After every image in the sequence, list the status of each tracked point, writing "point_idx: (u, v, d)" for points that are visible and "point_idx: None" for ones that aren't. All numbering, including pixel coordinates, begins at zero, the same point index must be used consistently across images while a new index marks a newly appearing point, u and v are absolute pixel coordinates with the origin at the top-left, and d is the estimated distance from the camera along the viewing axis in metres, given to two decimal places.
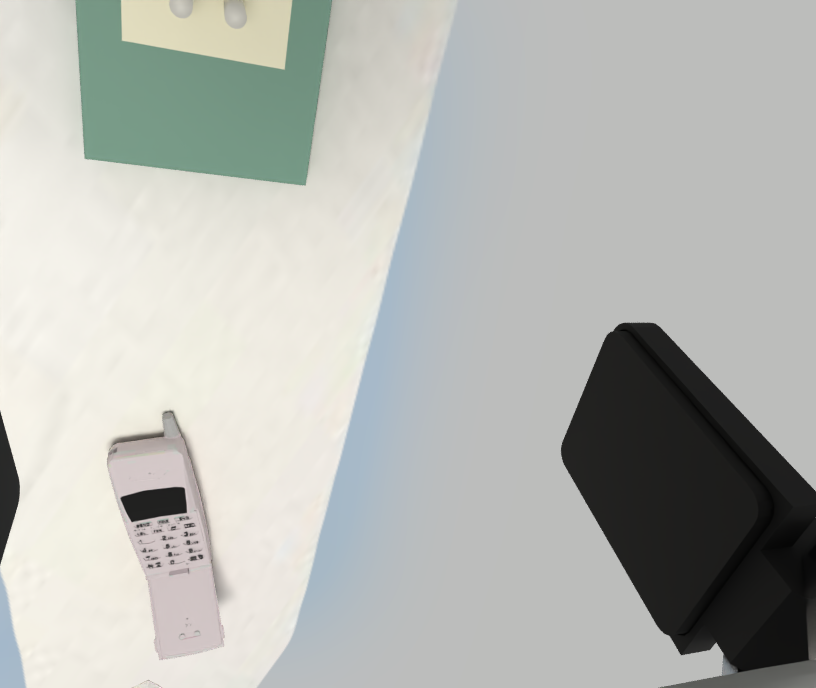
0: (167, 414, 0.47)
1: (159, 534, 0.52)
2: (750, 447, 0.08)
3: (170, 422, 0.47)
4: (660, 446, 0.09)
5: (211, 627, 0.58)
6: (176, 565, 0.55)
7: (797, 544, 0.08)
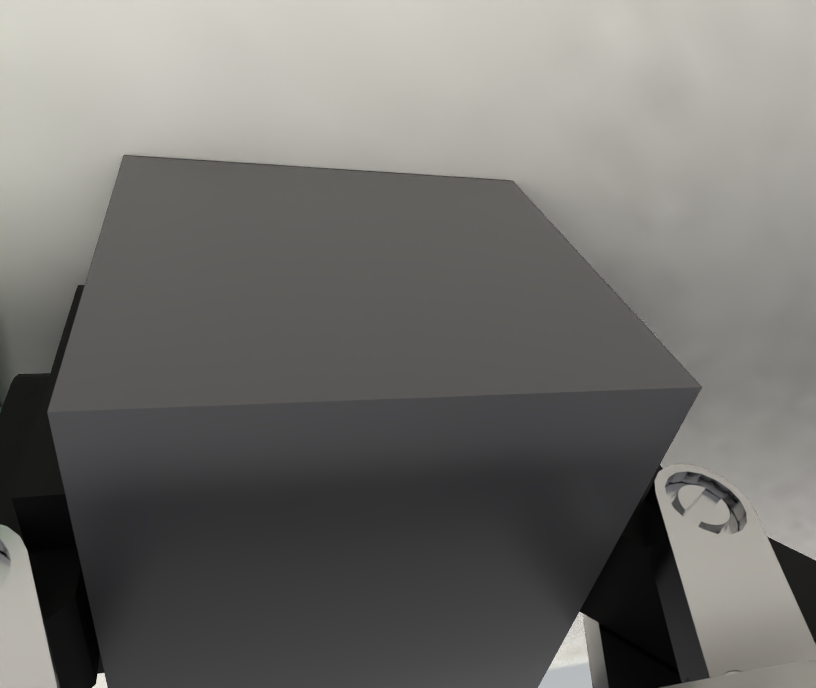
0: None
1: None
2: None
3: None
4: None
5: None
6: None
7: None
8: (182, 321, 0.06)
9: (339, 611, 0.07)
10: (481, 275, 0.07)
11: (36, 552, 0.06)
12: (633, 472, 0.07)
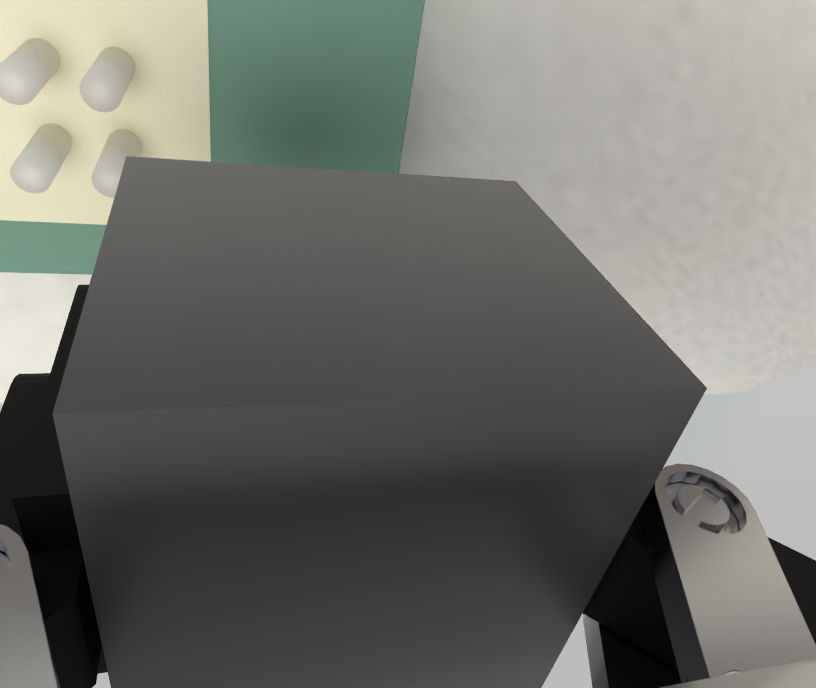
0: None
1: None
2: None
3: None
4: None
5: None
6: None
7: None
8: (186, 322, 0.06)
9: (343, 612, 0.07)
10: (485, 276, 0.07)
11: (36, 552, 0.06)
12: (637, 473, 0.07)
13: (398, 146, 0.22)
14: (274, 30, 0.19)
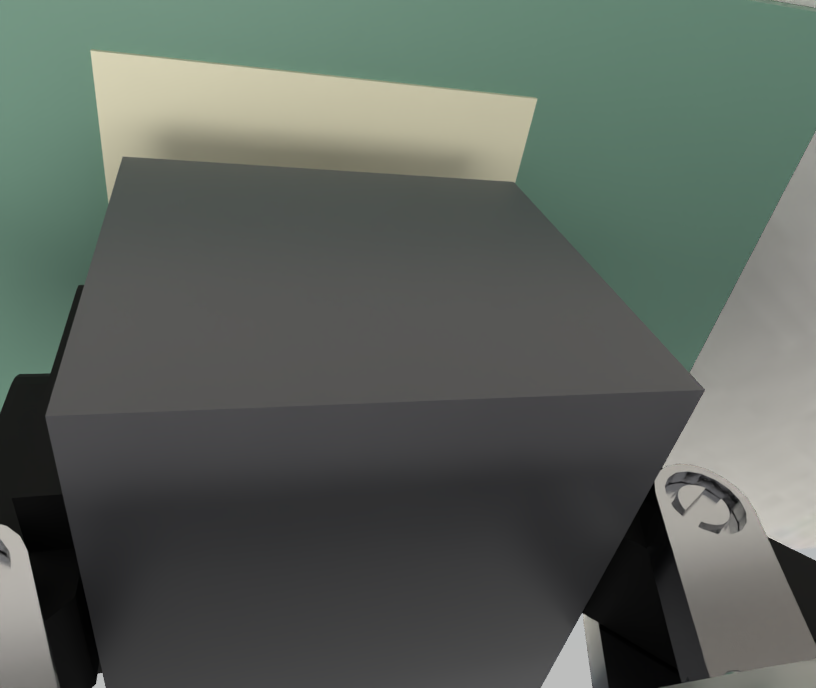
0: None
1: None
2: None
3: None
4: None
5: None
6: None
7: None
8: (182, 324, 0.06)
9: (340, 615, 0.07)
10: (482, 277, 0.07)
11: (36, 552, 0.06)
12: (635, 475, 0.07)
13: (715, 312, 0.16)
14: (604, 176, 0.13)
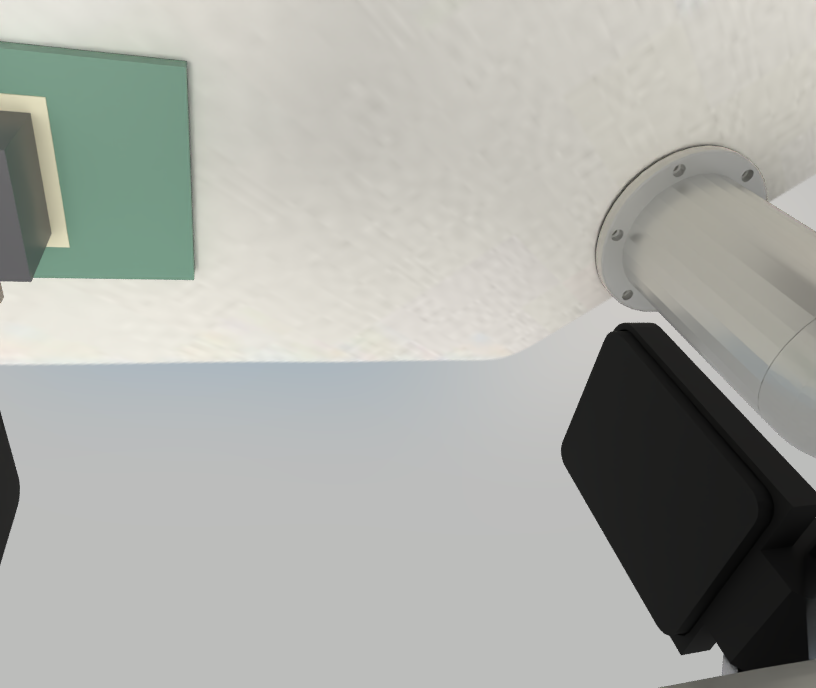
0: None
1: None
2: (750, 447, 0.08)
3: None
4: (660, 446, 0.09)
5: None
6: None
7: (797, 544, 0.08)
8: None
9: None
10: None
11: None
12: (2, 175, 0.27)
13: (188, 193, 0.35)
14: (93, 128, 0.32)
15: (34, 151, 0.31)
